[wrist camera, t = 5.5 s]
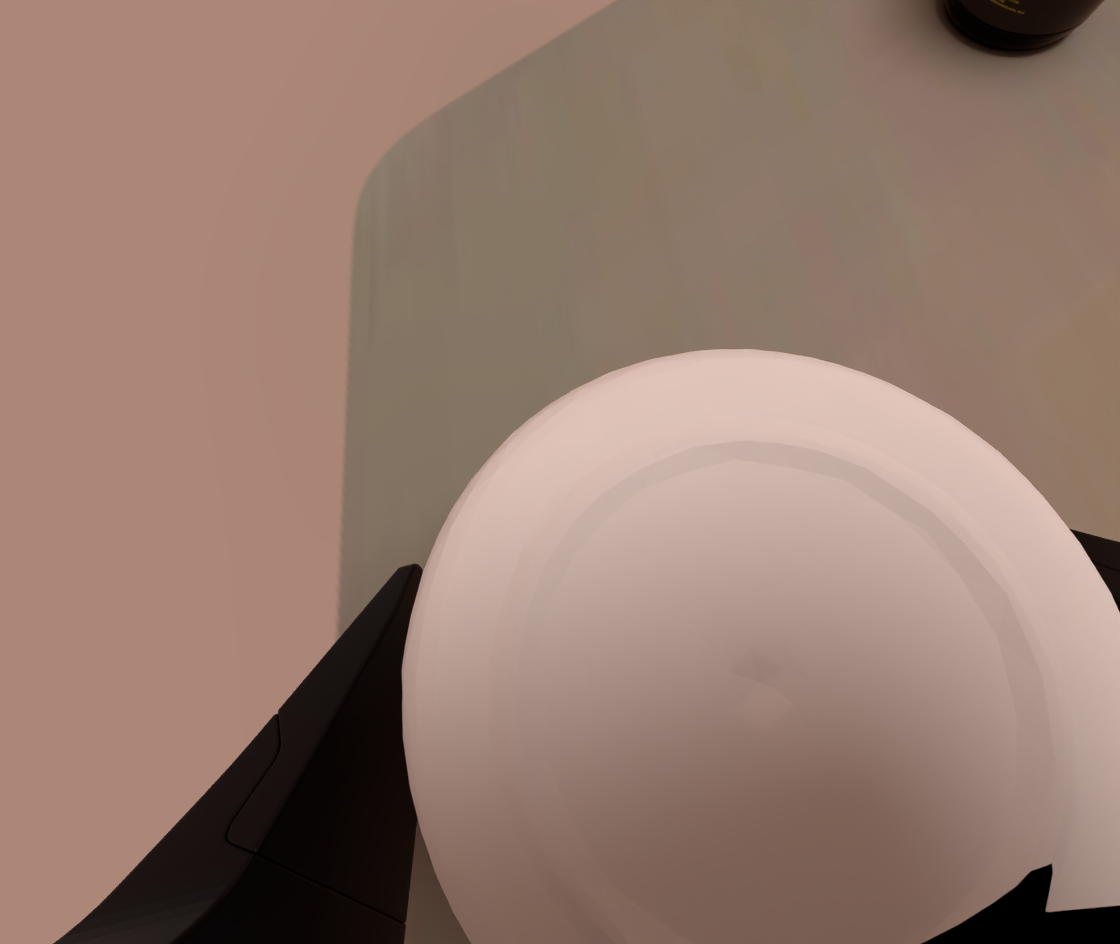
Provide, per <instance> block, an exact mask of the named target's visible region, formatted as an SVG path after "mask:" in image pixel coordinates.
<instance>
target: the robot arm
mask: <svg viewBox="0 0 1120 944" xmlns="http://www.w3.org/2000/svg"><path fill="white" fill-rule="evenodd" d="M1069 530H1070V531H1071V532H1072V533H1073V535H1074V536H1075V537H1076V538H1077V540H1078V541H1079V542H1080V544H1081V545H1082V547H1083V549H1084V550H1085V552H1086V553H1087V555H1088V557H1089V558H1090V560H1091V561H1092V563H1093V565H1094V566H1095V568H1096V570H1097V571H1098V573H1099V574H1100V576H1101V578H1102V579H1103V581H1104V582H1105V584H1106V586H1107V587H1108V589H1109V591H1110V592H1111V594H1112V597H1113V599H1114V601H1115V603H1116V606H1117V608H1118V610H1119V612H1120V542H1117V541H1113V540H1109V539H1105V538H1102V537H1098V536H1094V535H1090V534H1086V533H1083V532H1079V531H1075V530H1071V529H1069ZM422 573H423V570H422V568H421V567H420V566H419V565H418V564H411V565H407V566H403V567H400V568H399V569H398V570H397V571H396V572H395V573H394V574H393V575H392V576H391V578H390V579H389V580H388V581H387V582H386V584H385V585H384V586H383V587H382V588H381V589H380V591H379V592H378V593H377V594H376V595H375V597H374V598H373V599H372V600H371V601H370V602H369V604H368V605H367V606H366V607H365V608H364V610H363V611H362V612H361V613H360V614H359V615H358V617H357V618H356V619H355V620H354V621H353V623H352V624H351V625H350V626H349V627H348V628H347V630H346V631H345V632H344V633H343V634H342V636H341V637H340V638H339V639H338V640H337V641H336V643H335V644H334V645H333V646H332V647H331V649H330V650H329V651H328V652H327V653H326V655H325V656H324V657H323V658H322V659H321V660H320V662H319V663H318V664H317V665H316V666H315V667H314V669H313V670H312V671H311V672H310V673H309V675H308V676H307V677H306V678H305V679H304V680H303V682H302V683H301V684H300V685H299V687H298V688H297V689H296V690H295V691H294V692H293V693H292V695H291V696H290V697H289V698H288V699H287V701H286V702H285V703H284V704H283V705H282V707H281V708H280V709H279V710H278V714H275V715H274V716H273V717H272V718H271V719H270V720H269V722H268V723H267V724H266V725H265V726H264V728H263V729H262V730H261V731H260V732H259V733H258V735H257V736H256V737H255V738H254V739H253V740H252V742H251V743H250V744H249V745H248V746H247V748H245V750H244V751H243V752H242V753H241V754H240V755H239V756H238V758H237V759H236V760H235V761H234V762H233V763H232V765H231V766H230V767H229V768H228V769H227V770H226V771H225V772H224V773H223V774H222V775H221V777H220V778H219V779H218V780H217V781H216V782H215V783H214V784H213V785H212V786H211V788H209V789H208V791H207V792H206V793H205V794H204V795H203V796H202V797H201V798H200V799H199V801H197V802H196V804H195V805H194V806H193V807H192V808H191V809H190V810H189V811H188V812H187V813H186V814H185V815H184V816H183V818H181V819H180V820H179V822H178V823H177V824H176V825H175V826H174V827H173V828H172V829H171V830H170V831H169V832H168V833H167V834H166V835H165V836H164V838H163V839H162V840H161V841H160V842H159V843H158V844H157V845H156V846H155V847H154V848H153V849H152V850H151V851H150V852H149V853H148V854H147V856H146V857H145V858H144V859H143V860H142V861H141V862H140V863H139V864H138V865H137V866H136V867H135V868H134V869H133V871H132V872H130V874H129V875H128V876H127V877H126V878H125V879H124V880H123V881H122V882H121V883H120V884H119V885H118V886H117V887H116V888H115V889H114V890H113V891H112V892H111V893H110V895H108V896H107V898H106V899H104V901H102V903H101V904H100V905H98V906H97V907H96V908H95V909H94V910H93V911H92V912H91V913H90V914H89V915H88V916H86V917H85V918H84V919H83V920H82V921H81V922H80V923H79V924H77V925H76V926H75V927H74V928H72V930H70V931H69V932H68V933H66V934H65V935H64V936H63V937H61V938H60V939H59V940H57V941H56V942H55V943H53V944H404V938H405V929H406V925H405V924H404V923H405V922H406V917H407V908H408V899H409V890H410V880H411V871H412V862H413V853H414V844H415V835H416V825H417V814H416V810H415V806H414V802H413V798H412V794H411V790H410V785H409V777H408V771H407V764H406V757H405V750H404V743H403V721H402V695H403V694H402V664H403V657H404V650H405V643H406V638H407V633H408V628H409V623H410V618H411V614H412V610H413V606H414V603H415V599H416V595H417V592H418V588H419V584H420V581H421V577H422Z"/></svg>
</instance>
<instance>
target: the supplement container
mask: <svg viewBox="0 0 1120 944" xmlns="http://www.w3.org/2000/svg"><path fill="white" fill-rule="evenodd" d="M1104 1H1105V0H944V5H945V10H946V13H947V15H948V17H949V19H950V21H951V22H952V23H953V25H954V26H955V27H956V28H957V29H958V30H959V31H960V32H961V33H963V34H964V35H965V36H967V37H968V38H970V39H972V40H973V41H975V42H977V43H980V44H982V45H985V46H988V47H991V48H996V49H1001V50H1010V51H1022V50H1030V49H1035V48H1039V47H1042V46H1045V45H1047V44H1050V43H1052V42H1054V41H1057V40H1059V39H1061V38H1062V37H1064V36H1066V35H1067V34H1069V33H1070V32H1072V31H1073V30H1074V29H1076V28H1077V27H1079V26H1080V25H1081V24H1082V23H1083V22H1085V21H1086V20H1087V18H1088V17H1089V16H1090V15H1091V14H1092V13H1093V12H1094V11H1095V10H1096V9H1097V8H1098V7H1099V6H1100V5H1101V4H1102V3H1103V2H1104Z"/></svg>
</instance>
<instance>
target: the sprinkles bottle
mask: <svg viewBox="0 0 1120 944" xmlns="http://www.w3.org/2000/svg"><path fill="white" fill-rule="evenodd" d="M402 694H403V695H402V721H403V743H404V750H405V757H406V764H407V771H408V777H409V785H410V790H411V794H412V798H413V802H414V806H415V810H416V814H417V818H418V822H419V826H420V830H421V833H422V836H423V838H424V841H425V844H426V847H427V850H428V853H429V856H430V859H431V862H432V865H433V868H434V871H435V874H436V876H437V879H438V881H439V883H440V885H441V887H442V890H443V892H444V894H445V896H446V898H447V900H448V903H449V905H450V907H451V909H452V911H453V913H454V915H455V917H456V918H457V920H458V922H459V924H460V925H461V927H462V929H463V930H464V932H465V934H466V936H467V937H468V939H469V941H470V943H471V944H1120V612H1119V610H1118V608H1117V606H1116V603H1115V601H1114V599H1113V597H1112V594H1111V592H1110V591H1109V589H1108V587H1107V586H1106V584H1105V582H1104V581H1103V579H1102V578H1101V576H1100V574H1099V573H1098V571H1097V570H1096V568H1095V566H1094V565H1093V563H1092V561H1091V560H1090V558H1089V557H1088V555H1087V553H1086V552H1085V550H1084V549H1083V547H1082V545H1081V544H1080V542H1079V541H1078V540H1077V538H1076V537H1075V536H1074V535H1073V533H1072V532H1071V531H1070V530H1069V528H1068V527H1067V526H1066V525H1065V523H1064V522H1063V521H1062V520H1061V518H1060V517H1059V516H1058V515H1057V513H1056V512H1055V511H1054V510H1053V508H1052V507H1051V506H1050V505H1049V503H1048V502H1047V501H1046V500H1045V498H1044V497H1043V496H1042V495H1041V494H1040V493H1039V492H1038V491H1037V489H1036V488H1035V487H1034V486H1033V485H1032V484H1031V483H1030V482H1029V481H1028V479H1027V478H1025V477H1024V476H1023V475H1022V474H1021V473H1020V472H1019V471H1018V470H1017V469H1016V468H1015V467H1014V466H1013V465H1012V464H1011V463H1010V462H1009V461H1008V460H1007V459H1006V458H1005V457H1004V456H1003V455H1002V454H1001V453H1000V452H998V451H997V450H996V449H994V448H993V447H992V446H991V445H989V444H988V443H987V442H985V441H984V440H983V439H982V438H980V437H979V436H978V435H976V434H975V433H974V432H972V431H971V430H969V429H968V428H967V427H965V426H964V425H963V424H961V423H960V422H959V421H957V420H956V419H954V418H953V417H951V416H950V415H948V414H947V413H945V412H943V411H941V410H939V409H937V408H936V407H934V406H932V405H930V404H928V403H926V402H925V401H923V400H921V399H919V398H917V397H915V396H914V395H912V394H910V393H908V392H906V391H904V390H902V389H900V388H898V387H896V386H894V385H892V384H890V383H888V382H885V381H883V380H880V379H878V378H876V377H873V376H871V375H868V374H866V373H863V372H860V371H857V370H853V369H850V368H847V367H844V366H841V365H838V364H835V363H831V362H827V361H823V360H819V359H815V358H811V357H805V356H799V355H793V354H788V353H782V352H773V351H763V350H754V349H741V350H728V349H717V350H704V351H692V352H687V353H682V354H676V355H671V356H666V357H661V358H656V359H651V360H647V361H643V362H640V363H637V364H634V365H631V366H627V367H624V368H621V369H618V370H615V371H612V372H610V373H607V374H605V375H603V376H601V377H599V378H597V379H595V380H593V381H590V382H588V383H586V384H584V385H582V386H580V387H578V388H576V389H574V390H572V391H570V392H569V393H567V394H565V395H564V396H562V397H561V398H559V399H557V400H556V401H554V402H552V403H551V404H549V405H548V406H546V407H545V408H544V409H542V410H541V411H540V412H538V413H537V414H535V415H534V416H533V417H531V418H530V419H529V420H527V421H526V422H525V423H524V424H523V425H522V426H521V427H520V428H519V429H517V430H516V431H515V432H513V433H512V434H511V435H510V436H509V437H508V438H507V439H506V440H505V441H504V442H503V443H502V445H501V446H500V447H499V448H498V449H497V450H496V451H495V452H494V453H493V454H492V456H491V457H490V458H489V459H488V460H487V461H486V463H485V464H484V465H483V466H482V467H481V469H480V470H479V471H478V472H477V473H476V474H475V476H474V477H473V478H472V479H471V481H470V482H469V484H468V485H467V487H466V488H465V490H464V491H463V493H462V494H461V496H460V497H459V499H458V500H457V502H456V503H455V505H454V506H453V508H452V509H451V511H450V513H449V515H448V517H447V519H446V521H445V523H444V525H443V527H442V529H441V531H440V532H439V534H438V537H437V539H436V541H435V544H434V546H433V549H432V551H431V554H430V556H429V558H428V561H427V563H426V566H425V568H424V570H423V573H422V577H421V581H420V584H419V588H418V592H417V595H416V599H415V603H414V606H413V610H412V614H411V618H410V623H409V628H408V633H407V638H406V643H405V650H404V657H403V664H402Z"/></svg>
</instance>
